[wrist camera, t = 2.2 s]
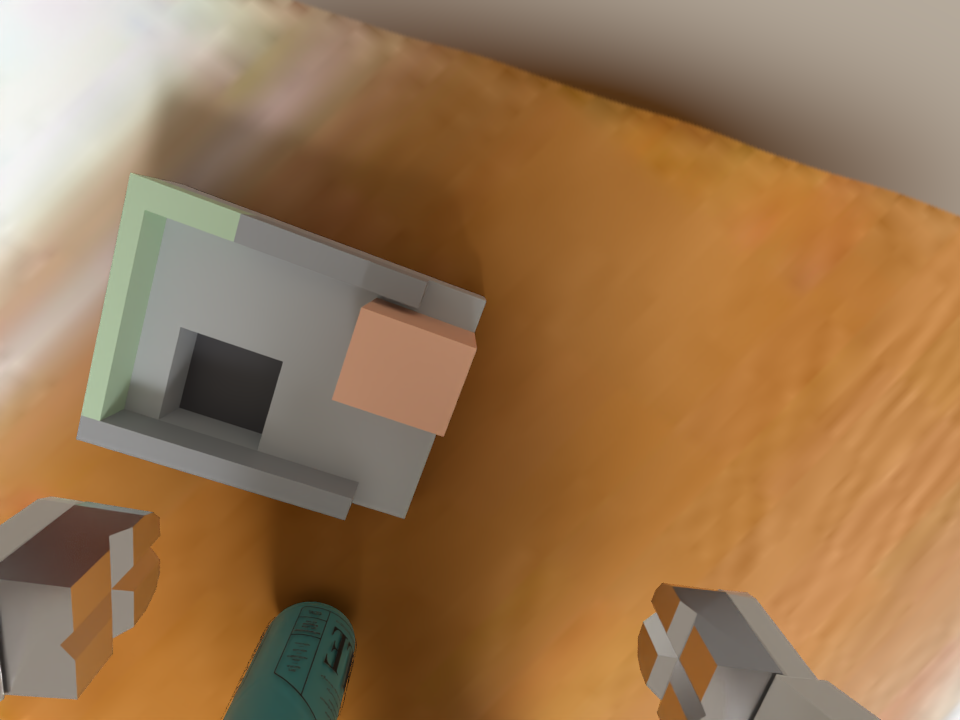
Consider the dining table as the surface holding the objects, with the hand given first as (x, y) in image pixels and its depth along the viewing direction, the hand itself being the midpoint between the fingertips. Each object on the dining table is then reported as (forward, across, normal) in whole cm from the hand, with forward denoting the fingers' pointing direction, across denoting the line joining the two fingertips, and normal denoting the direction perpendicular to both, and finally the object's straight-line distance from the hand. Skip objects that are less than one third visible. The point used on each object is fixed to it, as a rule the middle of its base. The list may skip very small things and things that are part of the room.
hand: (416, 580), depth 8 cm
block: (+21, -2, -3) cm, 21 cm away
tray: (+23, -8, -5) cm, 25 cm away
